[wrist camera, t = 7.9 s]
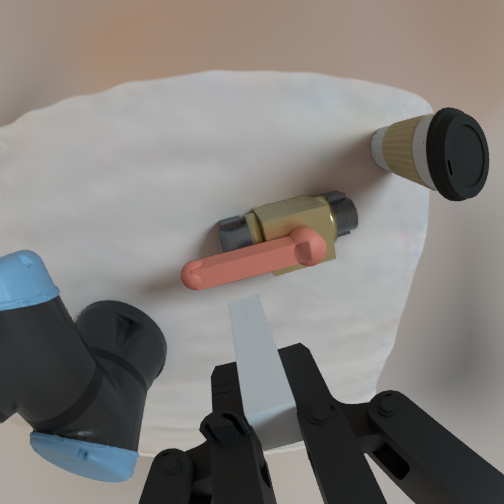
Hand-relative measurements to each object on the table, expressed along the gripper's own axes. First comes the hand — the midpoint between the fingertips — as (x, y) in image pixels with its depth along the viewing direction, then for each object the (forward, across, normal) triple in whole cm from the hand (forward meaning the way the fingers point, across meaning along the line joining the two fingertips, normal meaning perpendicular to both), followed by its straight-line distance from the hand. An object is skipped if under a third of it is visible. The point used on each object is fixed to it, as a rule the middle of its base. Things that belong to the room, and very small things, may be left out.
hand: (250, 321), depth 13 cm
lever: (+14, +1, -2) cm, 14 cm away
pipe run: (+21, +7, -2) cm, 22 cm away
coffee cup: (+21, +24, +5) cm, 32 cm away
